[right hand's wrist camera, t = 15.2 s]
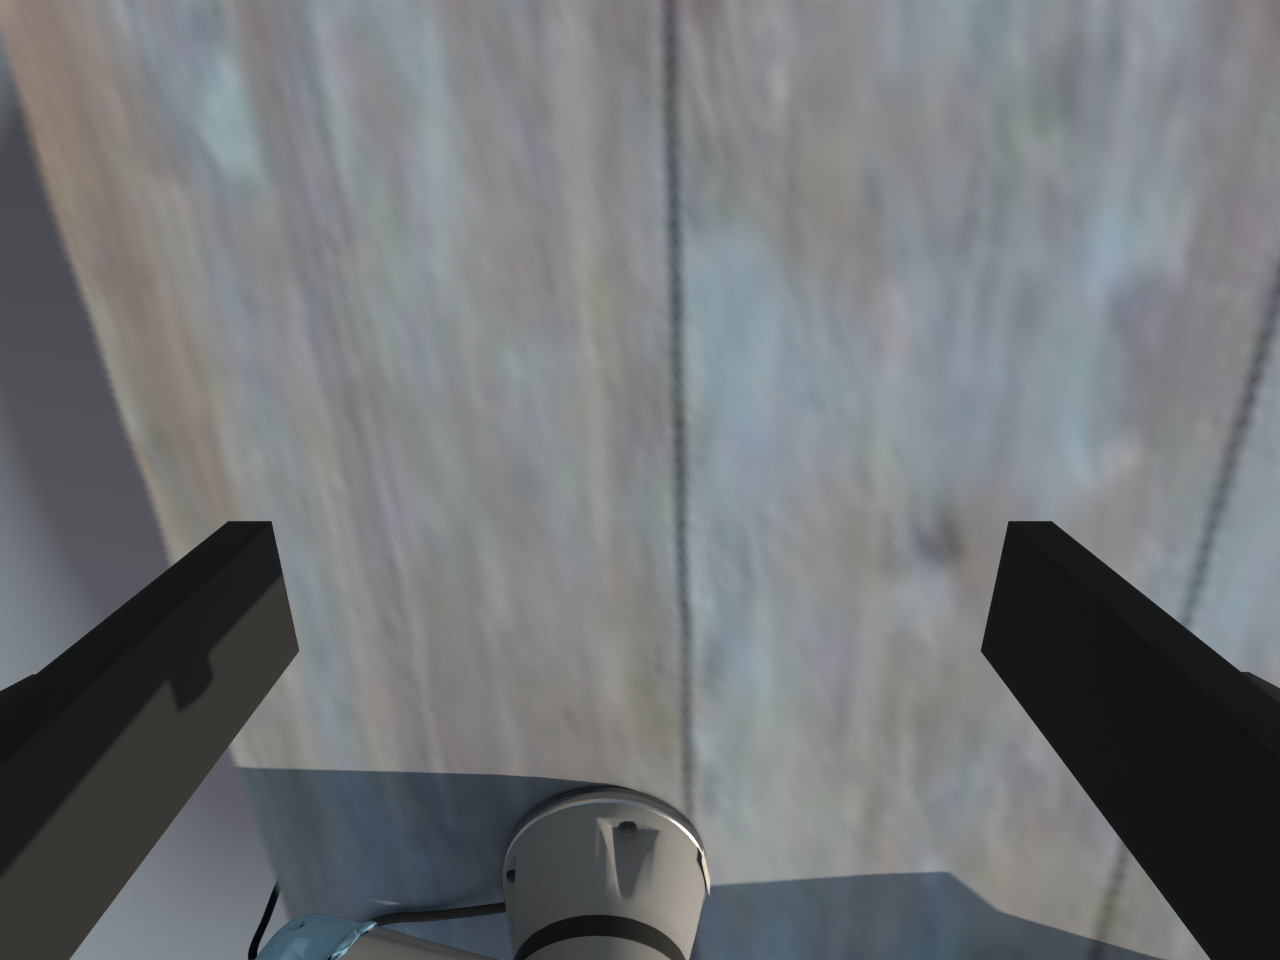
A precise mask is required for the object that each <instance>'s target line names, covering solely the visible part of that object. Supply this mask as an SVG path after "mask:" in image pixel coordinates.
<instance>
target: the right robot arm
mask: <svg viewBox="0 0 1280 960" xmlns="http://www.w3.org/2000/svg"><path fill="white" fill-rule="evenodd" d="M298 652H299V648H298V643H297V638H296V634H295V629H294V624H293V620H292V615H291V610H290V606H289V601H288V596H287V592H286V587H285V582H284V578H283V573H282V568H281V564H280V559H279V554H278V550H277V545H276V540H275V536H274V531H273V526H272V522H271V521H228V522H227V523H226V524H224V525H223V526H222V527H221V528H219V529H218V530H217V531H216V532H214V533H213V534H212V535H211V536H209V537H208V538H207V539H206V540H204V541H203V542H202V543H201V544H199V545H198V546H197V547H196V548H194V549H193V550H192V551H190V552H189V553H188V554H187V555H185V556H184V557H183V558H182V559H180V560H179V561H178V562H177V563H175V564H174V565H173V566H172V567H170V568H169V569H168V570H167V571H165V572H164V573H163V574H162V575H160V576H159V577H158V578H157V579H155V580H154V581H153V582H152V583H150V584H149V585H148V586H147V587H145V588H144V589H143V590H142V591H140V592H139V593H138V594H136V595H135V596H134V597H133V598H131V599H130V600H129V601H128V602H126V603H125V604H124V605H123V606H122V607H120V608H119V609H118V610H116V611H115V612H114V613H113V614H111V615H110V616H109V617H108V618H106V619H105V620H104V621H103V622H101V623H100V624H99V625H98V626H96V627H95V628H94V629H93V630H91V631H90V632H89V633H88V634H86V635H85V636H84V637H82V638H81V639H80V640H79V641H77V642H76V643H75V644H74V645H72V646H71V647H70V648H69V649H67V650H66V651H65V652H64V653H62V654H61V655H60V656H59V657H57V658H56V659H55V660H54V661H52V662H51V663H50V664H49V665H47V666H46V667H45V668H44V669H42V670H41V671H40V672H39V673H37V674H36V675H31V676H29V677H27V678H25V679H23V680H21V681H19V682H17V683H15V684H13V685H11V686H10V687H8V688H6V689H4V690H2V691H0V960H69V959H70V958H71V957H72V955H73V954H74V953H75V951H76V950H77V949H78V947H79V946H80V945H81V943H82V942H83V940H84V939H85V938H86V936H87V935H88V934H89V932H90V931H91V930H92V928H93V927H94V926H95V924H96V923H97V922H98V920H99V919H100V918H101V916H102V915H103V914H104V912H105V911H106V910H107V908H108V907H109V906H110V904H111V903H112V902H113V900H114V899H115V898H116V896H117V895H118V893H119V892H120V891H121V889H122V888H123V887H124V885H125V884H126V883H127V881H128V880H129V879H130V877H131V876H132V875H133V873H134V872H135V871H136V869H137V868H138V867H139V865H140V864H141V863H142V861H143V860H144V859H145V857H146V856H147V855H148V853H149V852H150V851H151V849H152V848H153V847H154V845H155V844H156V842H157V841H158V840H159V838H160V837H161V836H162V834H163V833H164V832H165V830H166V829H167V828H168V826H169V825H170V824H171V822H172V821H173V820H174V818H175V817H176V816H177V814H178V813H179V812H180V810H181V809H182V808H183V806H184V805H185V804H186V802H187V801H188V800H189V798H190V797H191V796H192V794H193V793H194V792H195V790H196V789H197V787H198V786H199V785H200V783H201V782H202V781H203V779H204V778H205V777H206V775H207V774H208V773H209V771H210V770H211V769H212V767H213V766H214V765H215V763H216V762H217V761H218V759H219V758H220V757H221V755H222V754H223V753H224V751H225V750H226V749H227V747H228V746H229V745H230V743H231V742H232V741H233V739H234V738H235V736H236V735H237V734H238V732H239V731H240V730H241V728H242V727H243V726H244V724H245V723H246V722H247V720H248V719H249V718H250V716H251V715H252V714H253V712H254V711H255V710H256V708H257V707H258V706H259V704H260V703H261V702H262V700H263V699H264V698H265V696H266V695H267V694H268V692H269V691H270V690H271V688H272V687H273V685H274V684H275V683H276V681H277V680H278V679H279V677H280V676H281V675H282V673H283V672H284V671H285V669H286V668H287V667H288V665H289V664H290V663H291V661H292V660H293V659H294V657H295V656H296V655H297V653H298ZM981 652H982V653H983V655H984V656H985V657H986V659H987V660H988V661H989V663H990V664H991V665H992V667H993V668H994V669H995V671H996V672H997V673H998V675H999V676H1000V677H1001V679H1002V680H1003V681H1004V683H1005V684H1006V685H1007V687H1008V688H1009V690H1010V691H1011V692H1012V694H1013V695H1014V696H1015V698H1016V699H1017V700H1018V702H1019V703H1020V704H1021V706H1022V707H1023V708H1024V710H1025V711H1026V712H1027V714H1028V715H1029V716H1030V718H1031V719H1032V720H1033V722H1034V723H1035V724H1036V726H1037V727H1038V728H1039V730H1040V731H1041V732H1042V734H1043V735H1044V736H1045V738H1046V739H1047V741H1048V742H1049V743H1050V745H1051V746H1052V747H1053V749H1054V750H1055V751H1056V753H1057V754H1058V755H1059V757H1060V758H1061V759H1062V761H1063V762H1064V763H1065V765H1066V766H1067V767H1068V769H1069V770H1070V771H1071V773H1072V774H1073V775H1074V777H1075V778H1076V779H1077V781H1078V782H1079V783H1080V785H1081V786H1082V787H1083V789H1084V790H1085V792H1086V793H1087V794H1088V796H1089V797H1090V798H1091V800H1092V801H1093V802H1094V804H1095V805H1096V806H1097V808H1098V809H1099V810H1100V812H1101V813H1102V814H1103V816H1104V817H1105V818H1106V820H1107V821H1108V822H1109V824H1110V825H1111V826H1112V828H1113V829H1114V830H1115V832H1116V833H1117V834H1118V836H1119V837H1120V838H1121V840H1122V841H1123V843H1124V844H1125V845H1126V847H1127V848H1128V849H1129V851H1130V852H1131V853H1132V855H1133V856H1134V857H1135V859H1136V860H1137V861H1138V863H1139V864H1140V865H1141V867H1142V868H1143V869H1144V871H1145V872H1146V873H1147V875H1148V876H1149V877H1150V879H1151V880H1152V881H1153V883H1154V884H1155V885H1156V887H1157V888H1158V889H1159V891H1160V892H1161V894H1162V895H1163V896H1164V898H1165V899H1166V900H1167V902H1168V903H1169V904H1170V906H1171V907H1172V908H1173V910H1174V911H1175V912H1176V914H1177V915H1178V916H1179V918H1180V919H1181V920H1182V922H1183V923H1184V924H1185V926H1186V927H1187V928H1188V930H1189V931H1190V932H1191V934H1192V935H1193V936H1194V938H1195V939H1196V940H1197V942H1198V943H1199V945H1200V946H1201V947H1202V949H1203V950H1204V951H1205V953H1206V954H1207V955H1208V957H1209V958H1210V959H1211V960H1280V688H1278V687H1276V686H1274V685H1272V684H1271V683H1269V682H1267V681H1265V680H1263V679H1261V678H1259V677H1257V676H1255V675H1253V674H1251V673H1250V672H1240V671H1239V670H1238V669H1236V668H1235V667H1234V666H1233V665H1231V664H1230V663H1229V662H1228V661H1226V660H1225V659H1224V658H1223V657H1221V656H1220V655H1219V654H1218V653H1216V652H1215V651H1214V650H1213V649H1211V648H1210V647H1209V646H1208V645H1206V644H1205V643H1204V642H1203V641H1201V640H1200V639H1199V638H1198V637H1196V636H1195V635H1194V634H1192V633H1191V632H1190V631H1189V630H1187V629H1186V628H1185V627H1184V626H1182V625H1181V624H1180V623H1179V622H1177V621H1176V620H1175V619H1174V618H1172V617H1171V616H1170V615H1169V614H1167V613H1166V612H1165V611H1164V610H1162V609H1161V608H1160V607H1159V606H1157V605H1156V604H1155V603H1154V602H1152V601H1151V600H1150V599H1149V598H1147V597H1146V596H1145V595H1144V594H1142V593H1141V592H1140V591H1138V590H1137V589H1136V588H1135V587H1133V586H1132V585H1131V584H1130V583H1128V582H1127V581H1126V580H1125V579H1123V578H1122V577H1121V576H1120V575H1118V574H1117V573H1116V572H1115V571H1113V570H1112V569H1111V568H1110V567H1108V566H1107V565H1106V564H1105V563H1103V562H1102V561H1101V560H1100V559H1098V558H1097V557H1096V556H1095V555H1093V554H1092V553H1091V552H1090V551H1088V550H1087V549H1086V548H1084V547H1083V546H1082V545H1081V544H1079V543H1078V542H1077V541H1076V540H1074V539H1073V538H1072V537H1071V536H1069V535H1068V534H1067V533H1066V532H1064V531H1063V530H1062V529H1061V528H1059V527H1058V526H1057V525H1056V524H1054V523H1053V522H1052V521H1009V522H1008V526H1007V531H1006V536H1005V540H1004V545H1003V550H1002V554H1001V559H1000V564H999V568H998V573H997V578H996V582H995V587H994V592H993V596H992V601H991V606H990V610H989V615H988V620H987V624H986V629H985V634H984V638H983V643H982V648H981ZM706 885H707V888H708V892H709V893H710V879H709V874H708V869H707V865H706V858H705V851H704V846H703V843H702V841H701V838H700V836H699V834H698V832H697V831H696V829H695V828H694V826H693V825H692V824H691V823H690V821H689V820H688V819H687V818H686V817H685V816H684V815H683V814H681V813H680V812H679V811H678V810H676V809H675V808H674V807H672V806H670V805H669V804H667V803H665V802H664V801H662V800H660V799H658V798H655V797H653V796H650V795H647V794H644V793H641V792H637V791H633V790H628V789H622V788H612V787H597V788H586V789H580V790H575V791H570V792H567V793H564V794H561V795H558V796H556V797H553V798H551V799H549V800H547V801H545V802H543V803H542V804H540V805H538V806H537V807H535V808H534V809H533V810H532V811H530V812H529V813H528V814H527V815H526V816H525V817H524V818H523V819H522V820H521V821H520V822H519V824H518V825H517V826H516V828H515V829H514V831H513V833H512V835H511V837H510V840H509V843H508V846H507V851H506V856H505V861H504V866H503V892H504V899H505V902H502V903H495V904H488V905H480V906H472V907H464V908H455V909H446V910H437V911H423V912H401V913H393V914H387V915H383V916H379V917H376V918H374V919H371V920H370V921H367V922H365V923H362V922H356V921H351V920H346V919H341V918H336V917H331V916H327V915H322V914H307V915H303V916H300V917H297V918H295V919H293V920H292V921H290V922H288V923H287V924H286V925H284V926H283V927H282V928H281V929H280V930H279V931H278V932H277V933H276V934H275V935H274V936H273V937H272V938H271V939H270V941H269V942H268V943H267V944H266V945H265V947H264V948H263V949H262V951H261V952H260V953H259V954H258V956H257V952H258V947H259V944H260V941H261V939H262V936H263V934H264V932H265V930H266V928H267V925H268V923H269V921H270V918H271V916H272V913H273V910H274V907H275V905H276V902H277V899H278V896H279V894H280V892H279V888H278V885H277V882H276V883H275V886H274V888H273V891H272V893H271V896H270V898H269V901H268V904H267V907H266V909H265V912H264V914H263V917H262V919H261V922H260V924H259V926H258V928H257V930H256V933H255V935H254V937H253V939H252V942H251V944H250V947H249V951H248V960H497V959H493V958H490V957H486V956H482V955H478V954H475V953H471V952H467V951H464V950H460V949H456V948H453V947H449V946H445V945H441V944H438V943H434V942H430V941H427V940H423V939H420V938H416V937H413V936H409V935H406V934H403V933H399V932H396V931H393V930H389V929H386V928H382V927H379V926H383V925H386V924H391V923H399V922H422V921H436V920H445V919H454V918H464V917H472V916H481V915H488V914H496V913H503V912H507V919H508V925H509V932H510V938H511V945H512V951H513V960H689V958H690V954H691V950H692V946H693V942H694V938H695V934H696V930H697V926H698V922H699V917H700V913H701V908H702V906H703V903H704V900H705V895H706Z"/></svg>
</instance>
